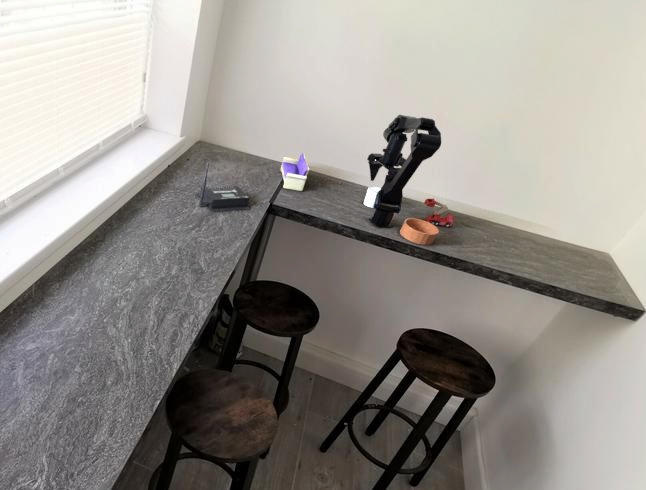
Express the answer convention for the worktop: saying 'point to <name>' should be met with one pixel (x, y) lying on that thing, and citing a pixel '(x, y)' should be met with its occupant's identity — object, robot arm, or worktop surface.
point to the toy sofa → (294, 172)
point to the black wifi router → (223, 197)
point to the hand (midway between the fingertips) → (378, 185)
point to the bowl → (419, 231)
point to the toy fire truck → (435, 216)
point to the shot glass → (371, 196)
